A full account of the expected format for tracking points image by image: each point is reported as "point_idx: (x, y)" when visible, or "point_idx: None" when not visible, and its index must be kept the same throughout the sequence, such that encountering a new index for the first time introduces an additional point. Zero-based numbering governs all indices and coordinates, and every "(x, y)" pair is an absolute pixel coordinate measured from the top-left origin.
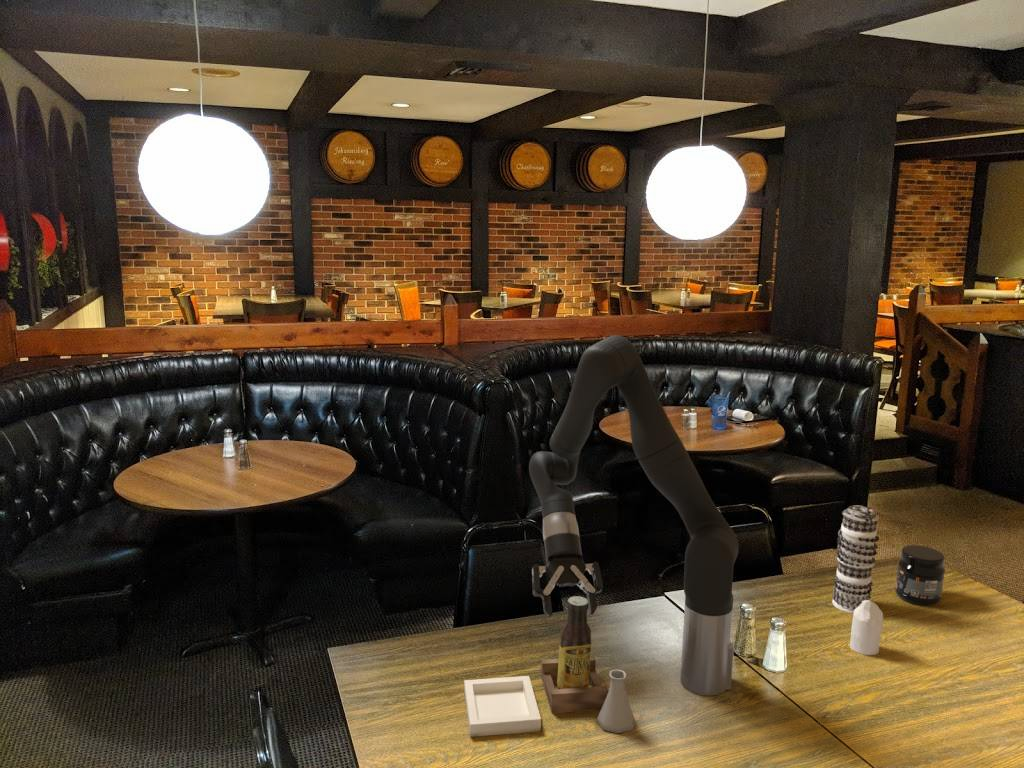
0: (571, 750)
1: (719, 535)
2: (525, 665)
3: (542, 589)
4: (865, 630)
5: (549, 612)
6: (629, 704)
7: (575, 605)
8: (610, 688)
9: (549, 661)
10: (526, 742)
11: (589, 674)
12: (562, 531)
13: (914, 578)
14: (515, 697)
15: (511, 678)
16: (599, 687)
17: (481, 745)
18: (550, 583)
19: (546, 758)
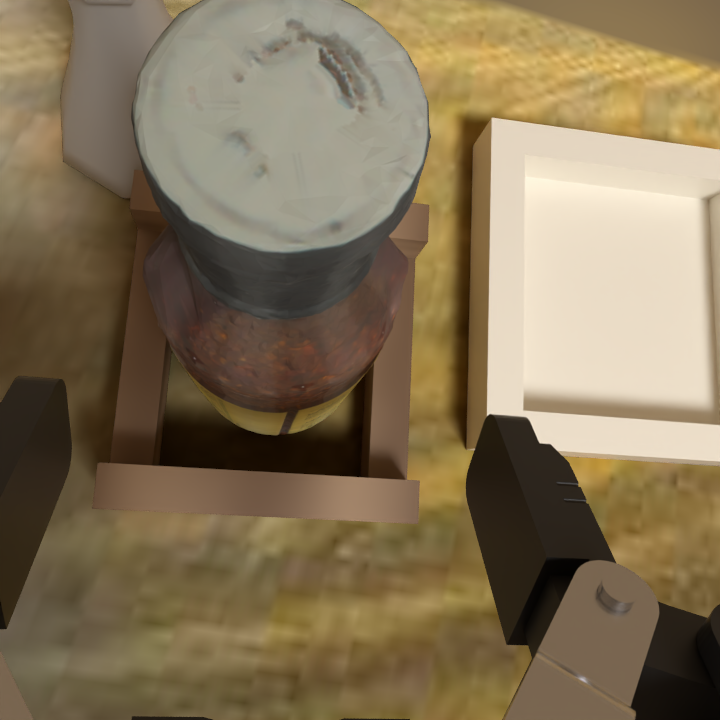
0: (382, 18)
1: None
2: (449, 643)
3: (666, 671)
4: None
5: (521, 420)
6: (69, 55)
7: (358, 11)
8: (160, 10)
9: (376, 496)
10: (535, 101)
11: (156, 434)
12: None
13: None
14: (545, 360)
15: (573, 439)
16: None
17: (690, 127)
18: (602, 692)
19: (480, 6)
